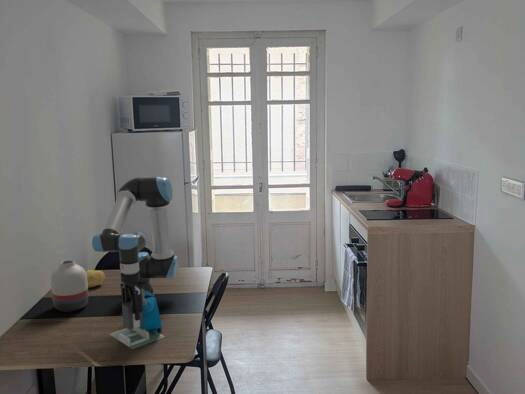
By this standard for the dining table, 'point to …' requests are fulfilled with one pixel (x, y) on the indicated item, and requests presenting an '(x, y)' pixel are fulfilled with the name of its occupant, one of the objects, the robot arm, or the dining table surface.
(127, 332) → the board
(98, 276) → the potato
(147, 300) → the blue suitcase
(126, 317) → the plug
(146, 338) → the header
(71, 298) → the vase
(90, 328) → the dining table surface
